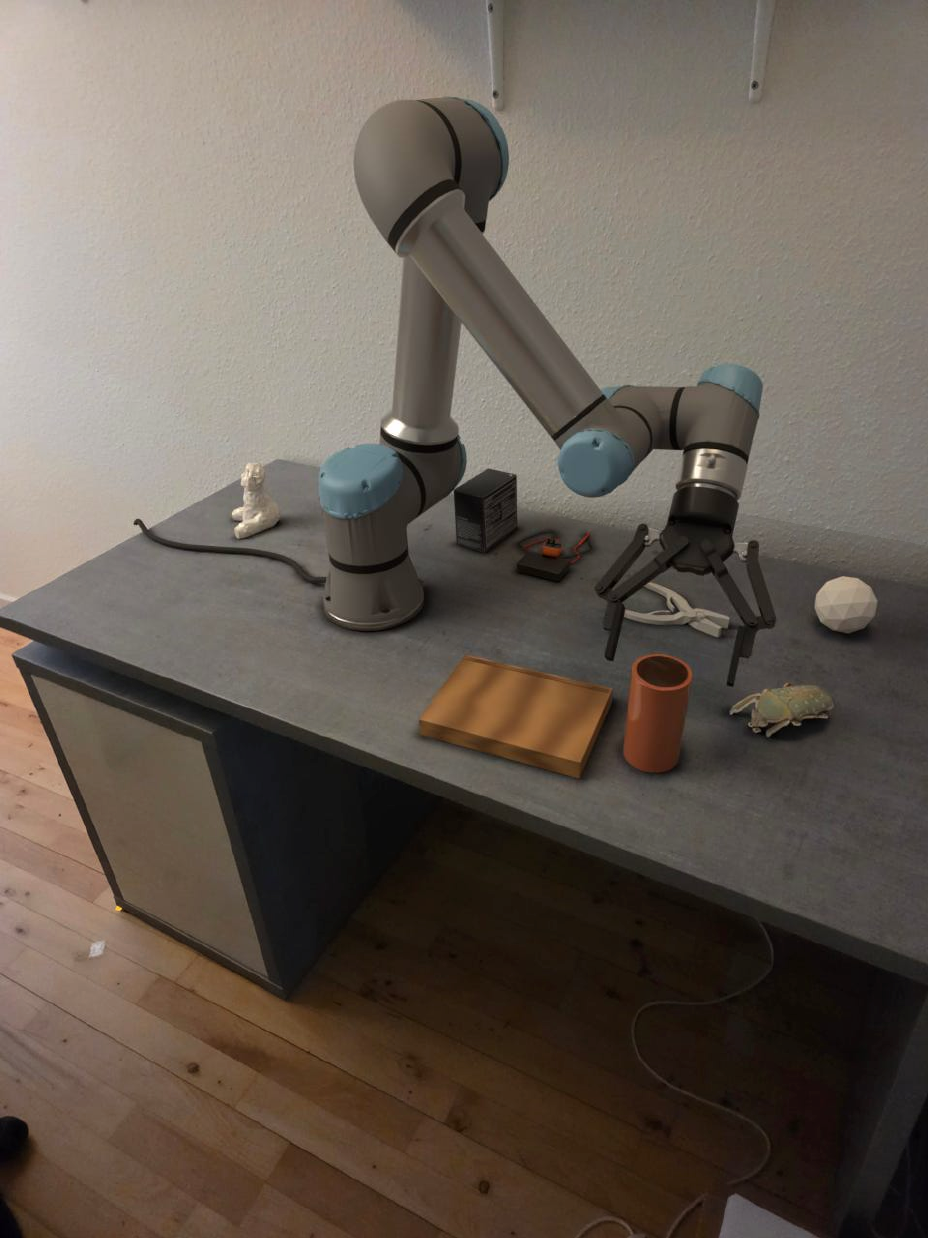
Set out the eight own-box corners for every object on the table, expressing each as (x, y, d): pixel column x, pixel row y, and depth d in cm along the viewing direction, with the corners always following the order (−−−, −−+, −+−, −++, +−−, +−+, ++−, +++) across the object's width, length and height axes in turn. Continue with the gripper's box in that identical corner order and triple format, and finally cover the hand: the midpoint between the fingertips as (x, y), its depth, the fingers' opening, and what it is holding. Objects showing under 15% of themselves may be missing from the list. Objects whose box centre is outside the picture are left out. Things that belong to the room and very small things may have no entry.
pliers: (646, 575, 122) (740, 607, 114) (645, 584, 123) (738, 616, 114) (613, 603, 115) (710, 639, 107) (613, 612, 116) (708, 648, 108)
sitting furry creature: (232, 517, 147) (219, 456, 140) (279, 510, 149) (268, 449, 142) (236, 540, 139) (222, 477, 133) (285, 532, 141) (274, 469, 135)
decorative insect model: (738, 678, 101) (751, 652, 97) (824, 710, 98) (840, 685, 95) (724, 728, 95) (737, 702, 92) (814, 763, 93) (832, 739, 89)
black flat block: (546, 521, 141) (546, 504, 139) (607, 537, 136) (608, 520, 134) (491, 564, 129) (491, 546, 127) (556, 584, 123) (557, 565, 122)
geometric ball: (821, 635, 115) (816, 580, 115) (883, 631, 110) (877, 574, 111) (812, 635, 108) (806, 578, 109) (877, 631, 104) (871, 570, 104)
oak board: (419, 734, 96) (418, 718, 94) (465, 669, 106) (465, 653, 105) (579, 779, 89) (580, 762, 87) (611, 704, 99) (612, 687, 98)
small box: (488, 520, 142) (487, 466, 137) (519, 529, 139) (519, 474, 133) (453, 544, 135) (451, 487, 130) (485, 554, 132) (484, 496, 126)
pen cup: (616, 764, 90) (625, 681, 84) (630, 729, 95) (639, 648, 88) (673, 779, 88) (686, 695, 81) (683, 742, 93) (697, 660, 86)
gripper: (597, 470, 93) (555, 643, 90) (825, 499, 84) (787, 691, 81) (606, 493, 100) (567, 654, 97) (817, 522, 91) (782, 700, 88)
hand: (667, 671), depth 89 cm, fingers open, 13 cm apart
